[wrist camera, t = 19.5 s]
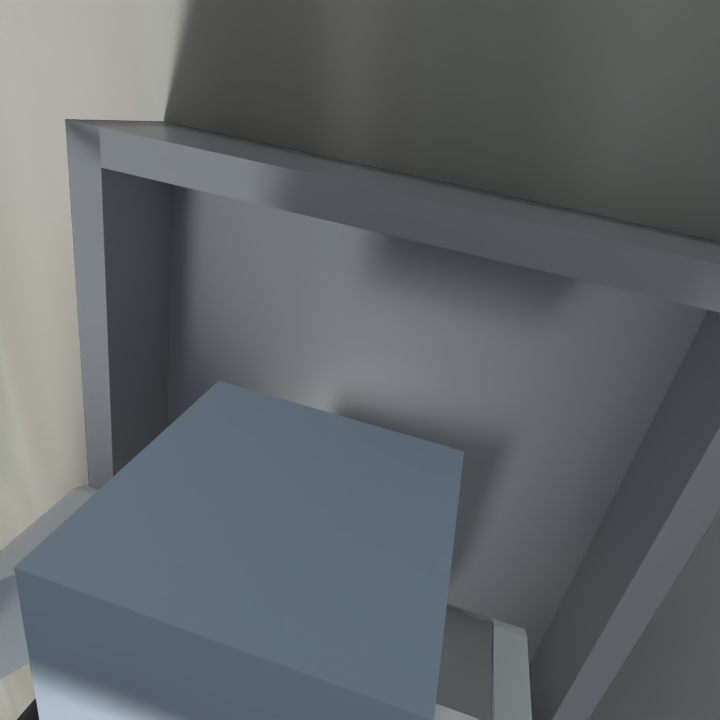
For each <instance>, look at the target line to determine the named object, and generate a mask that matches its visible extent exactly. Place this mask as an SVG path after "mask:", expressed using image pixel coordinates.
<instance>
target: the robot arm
mask: <svg viewBox="0 0 720 720" xmlns="http://www.w3.org/2000/svg"><path fill="white" fill-rule="evenodd" d="M97 491H98V489H95V488H92V487H89V486H87V485H83V486H80V487H77V488H75V489H73V490H72V491H71V492H69V493H68V494H67V495H66V496H65V497H63V498H62V499H61V500H60V501H59V502H58V503H56V504H55V505H54V506H53V507H52V508H50V509H49V510H48V511H47V512H46V513H45V514H43V515H42V516H41V517H40V518H39V519H37V520H36V521H35V522H34V523H33V524H32V525H30V526H29V527H28V528H27V529H26V530H24V531H23V532H22V533H21V534H20V535H19V536H17V537H16V538H15V539H14V540H13V541H11V542H10V543H9V544H8V545H7V546H6V547H4V548H3V549H2V550H1V551H0V679H2V678H4V677H6V676H7V675H9V674H11V673H12V672H14V671H16V670H17V669H19V668H21V667H22V666H24V665H26V664H27V663H29V662H30V661H29V655H28V649H27V643H26V637H25V631H24V625H23V619H22V613H21V607H20V601H19V596H18V590H17V584H16V578H15V572H14V567H15V566H16V565H17V564H18V563H19V562H20V561H21V560H22V559H23V558H25V557H26V556H27V555H28V554H29V553H30V552H31V551H32V550H33V549H34V548H36V547H37V546H38V545H39V544H40V543H41V542H42V541H43V540H44V539H45V538H47V537H48V536H49V535H50V534H51V533H52V532H53V531H54V530H55V529H56V528H58V527H59V526H60V525H61V524H62V523H63V522H64V521H65V520H66V519H67V518H69V517H70V516H71V515H72V514H73V513H74V512H75V511H76V510H77V509H78V508H79V507H81V506H82V505H83V504H84V503H85V502H86V501H87V500H88V499H89V498H90V497H92V496H93V495H94V494H95V493H96V492H97ZM434 720H532V711H531V694H530V677H529V659H528V642H527V634H526V632H525V630H524V629H523V628H520V627H517V626H514V625H511V624H508V623H505V622H501V621H498V620H495V619H490V617H487V616H484V615H481V614H478V613H474V612H471V611H468V610H465V609H462V608H459V607H455V606H452V605H449V604H447V607H446V616H445V625H444V634H443V643H442V652H441V661H440V669H439V678H438V687H437V696H436V705H435V714H434Z"/></svg>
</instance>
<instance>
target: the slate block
mask: <svg viewBox="0 0 720 720" xmlns="http://www.w3.org/2000/svg"><path fill="white" fill-rule="evenodd" d="M463 456H464V451H461V450H458V449H454V448H451V447H447V446H444V445H440V444H437V443H433V442H430V441H426V440H423V439H419V438H416V437H413V436H409V435H406V434H402V433H399V432H395V431H392V430H388V429H385V428H381V427H378V426H374V425H371V424H367V423H364V422H361V421H357V420H354V419H350V418H347V417H343V416H340V415H336V414H333V413H329V412H326V411H322V410H319V409H315V408H312V407H309V406H305V405H302V404H298V403H295V402H291V401H288V400H284V399H281V398H277V397H274V396H270V395H267V394H263V393H260V392H257V391H253V390H250V389H246V388H243V387H239V386H236V385H232V384H229V383H225V382H222V381H218V382H217V383H216V384H215V385H214V386H212V387H211V388H210V389H209V390H208V391H207V392H206V393H205V394H204V395H203V396H201V397H200V398H199V399H198V400H197V401H196V402H195V403H194V404H193V405H192V406H190V407H189V408H188V409H187V410H186V411H185V412H184V413H183V414H182V415H181V416H179V417H178V418H177V419H176V420H175V421H174V422H173V423H172V424H171V425H170V426H168V427H167V428H166V429H165V430H164V431H163V432H162V433H161V434H160V435H159V436H158V437H156V438H155V439H154V440H153V441H152V442H151V443H150V444H149V445H148V446H147V447H145V448H144V449H143V450H142V451H141V452H140V453H139V454H138V455H137V456H136V457H134V458H133V459H132V460H131V461H130V462H129V463H128V464H127V465H126V466H125V467H123V468H122V469H121V470H120V471H119V472H118V473H117V474H116V475H115V476H114V477H112V478H111V479H110V480H109V481H108V482H107V483H106V484H105V485H104V486H103V487H101V488H100V489H99V490H98V491H97V492H96V493H95V494H94V495H93V496H92V497H90V498H89V499H88V500H87V501H86V502H85V503H84V504H83V505H82V506H81V507H79V508H78V509H77V510H76V511H75V512H74V513H73V514H72V515H71V516H70V517H69V518H67V519H66V520H65V521H64V522H63V523H62V524H61V525H60V526H59V527H58V528H56V529H55V530H54V531H53V532H52V533H51V534H50V535H49V536H48V537H47V538H45V539H44V540H43V541H42V542H41V543H40V544H39V545H38V546H37V547H36V548H34V549H33V550H32V551H31V552H30V553H29V554H28V555H27V556H26V557H25V558H23V559H22V560H21V561H20V562H19V563H18V564H17V565H16V566H15V567H14V572H15V578H16V584H17V590H18V596H19V601H20V607H21V613H22V619H23V625H24V631H25V637H26V643H27V649H28V655H29V661H30V667H31V673H32V679H33V685H34V691H35V697H36V703H37V709H38V714H39V720H434V714H435V705H436V696H437V687H438V678H439V669H440V661H441V652H442V643H443V634H444V625H445V616H446V607H447V598H448V589H449V580H450V572H451V563H452V554H453V545H454V536H455V527H456V518H457V509H458V500H459V491H460V483H461V474H462V465H463Z"/></svg>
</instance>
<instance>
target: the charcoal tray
mask: <svg viewBox="0 0 720 720" xmlns="http://www.w3.org/2000/svg"><path fill="white" fill-rule="evenodd" d="M65 122H66V137H67V152H68V168H69V183H70V199H71V214H72V229H73V245H74V260H75V276H76V291H77V307H78V322H79V337H80V353H81V368H82V384H83V399H84V415H85V430H86V445H87V461H88V476H89V487H92V488H95V489H98V490H99V489H100V488H101V487H103V486H104V485H105V484H106V483H107V482H108V481H109V480H110V479H111V478H112V477H114V476H115V475H116V474H117V473H118V472H119V471H120V470H121V469H122V468H123V467H125V466H126V465H127V464H128V463H129V462H130V461H131V460H132V459H133V458H134V457H136V456H137V455H138V454H139V453H140V452H141V451H142V450H143V449H144V448H145V447H147V446H148V445H149V444H150V443H151V442H152V441H153V440H154V439H155V438H156V437H158V436H159V435H160V434H161V433H162V432H163V431H164V430H165V429H166V428H167V427H168V426H170V425H171V424H172V423H173V422H174V421H175V420H176V419H177V418H178V417H179V416H181V415H182V414H183V413H184V412H185V411H186V410H187V409H188V408H189V407H190V406H192V405H193V404H194V403H195V402H196V401H197V400H198V399H199V398H200V397H201V396H203V395H204V394H205V393H206V392H207V391H208V390H209V389H210V388H211V387H212V386H214V385H215V384H216V383H217V382H218V381H222V382H225V383H229V384H232V385H236V386H239V387H243V388H246V389H250V390H253V391H257V392H260V393H263V394H267V395H270V396H274V397H277V398H281V399H284V400H288V401H291V402H295V403H298V404H302V405H305V406H309V407H312V408H315V409H319V410H322V411H326V412H329V413H333V414H336V415H340V416H343V417H347V418H350V419H354V420H357V421H361V422H364V423H367V424H371V425H374V426H378V427H381V428H385V429H388V430H392V431H395V432H399V433H402V434H406V435H409V436H413V437H416V438H419V439H423V440H426V441H430V442H433V443H437V444H440V445H444V446H447V447H451V448H454V449H458V450H461V451H464V456H463V465H462V474H461V483H460V491H459V500H458V509H457V518H456V527H455V536H454V545H453V554H452V563H451V572H450V580H449V589H448V598H447V604H449V605H452V606H455V607H459V608H462V609H465V610H468V611H471V612H474V613H478V614H481V615H484V616H487V617H490V619H495V620H498V621H501V622H505V623H508V624H511V625H514V626H517V627H520V628H523V629H524V630H525V632H526V634H527V642H528V659H529V677H530V694H531V711H532V720H589V718H590V716H591V715H592V713H593V712H594V710H595V708H596V707H597V705H598V704H599V702H600V700H601V699H602V697H603V696H604V694H605V692H606V691H607V689H608V688H609V686H610V684H611V683H612V681H613V680H614V678H615V676H616V675H617V673H618V672H619V670H620V668H621V667H622V665H623V664H624V662H625V660H626V659H627V657H628V656H629V654H630V652H631V651H632V649H633V648H634V646H635V644H636V643H637V641H638V640H639V638H640V636H641V635H642V633H643V632H644V630H645V628H646V627H647V625H648V624H649V622H650V620H651V619H652V617H653V616H654V614H655V612H656V611H657V609H658V608H659V606H660V604H661V603H662V601H663V600H664V598H665V596H666V595H667V593H668V592H669V590H670V588H671V587H672V585H673V584H674V582H675V580H676V579H677V577H678V576H679V574H680V572H681V571H682V569H683V568H684V566H685V564H686V563H687V561H688V560H689V558H690V556H691V555H692V553H693V552H694V550H695V548H696V547H697V545H698V544H699V542H700V540H701V539H702V537H703V536H704V534H705V532H706V531H707V529H708V528H709V526H710V524H711V523H712V521H713V520H714V518H715V516H716V515H717V513H718V512H719V510H720V242H718V241H713V240H709V239H704V238H699V237H695V236H690V235H686V234H681V233H676V232H672V231H667V230H662V229H658V228H653V227H649V226H644V225H639V224H635V223H630V222H625V221H621V220H616V219H611V218H607V217H602V216H598V215H593V214H588V213H584V212H579V211H574V210H570V209H565V208H561V207H556V206H551V205H547V204H542V203H537V202H533V201H528V200H524V199H519V198H514V197H510V196H505V195H500V194H496V193H491V192H486V191H482V190H477V189H473V188H468V187H463V186H459V185H454V184H449V183H445V182H440V181H436V180H431V179H426V178H422V177H417V176H412V175H408V174H403V173H399V172H394V171H389V170H385V169H380V168H375V167H371V166H366V165H362V164H357V163H352V162H348V161H343V160H338V159H334V158H329V157H324V156H320V155H315V154H311V153H306V152H301V151H297V150H292V149H287V148H283V147H278V146H274V145H269V144H264V143H260V142H255V141H250V140H246V139H241V138H237V137H232V136H227V135H223V134H218V133H213V132H209V131H204V130H200V129H195V128H190V127H186V126H181V125H176V124H172V123H167V122H162V121H119V120H74V119H65Z"/></svg>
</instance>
